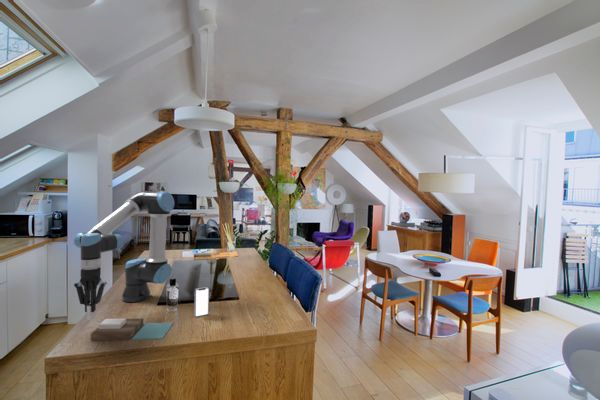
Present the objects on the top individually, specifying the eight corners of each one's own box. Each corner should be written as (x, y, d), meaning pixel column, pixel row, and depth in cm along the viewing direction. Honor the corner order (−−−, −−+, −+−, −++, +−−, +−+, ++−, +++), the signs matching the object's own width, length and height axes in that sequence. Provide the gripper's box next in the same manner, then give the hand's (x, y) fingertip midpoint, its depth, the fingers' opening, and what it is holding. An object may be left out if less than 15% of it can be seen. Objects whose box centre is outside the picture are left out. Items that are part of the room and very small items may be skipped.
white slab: (105, 323, 143) (105, 318, 143) (126, 322, 144) (126, 318, 144) (98, 329, 137) (98, 324, 137) (119, 328, 138) (119, 324, 138)
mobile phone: (208, 313, 164) (208, 286, 163) (209, 314, 163) (209, 287, 162) (193, 317, 160) (194, 288, 159) (194, 317, 159) (194, 289, 158)
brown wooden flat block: (108, 324, 148) (108, 318, 148) (143, 324, 150) (143, 318, 150) (90, 340, 133) (90, 333, 133) (129, 339, 135) (129, 333, 135)
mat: (145, 324, 150) (145, 323, 150) (172, 323, 151) (172, 322, 151) (131, 339, 135) (131, 338, 135) (162, 339, 136) (162, 338, 136)
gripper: (70, 269, 134) (69, 322, 135) (101, 270, 136) (100, 322, 136) (80, 265, 142) (79, 315, 142) (110, 265, 143) (109, 315, 144)
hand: (90, 318), depth 139 cm, fingers closed
